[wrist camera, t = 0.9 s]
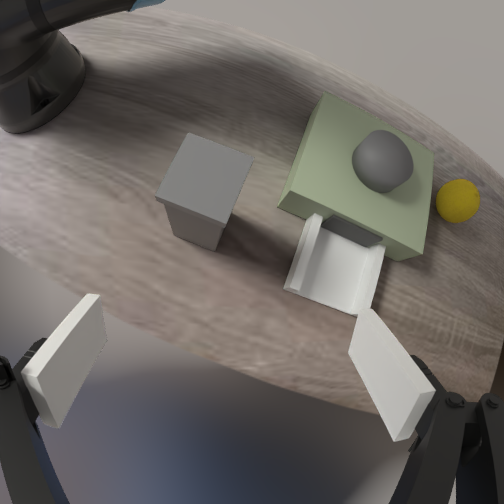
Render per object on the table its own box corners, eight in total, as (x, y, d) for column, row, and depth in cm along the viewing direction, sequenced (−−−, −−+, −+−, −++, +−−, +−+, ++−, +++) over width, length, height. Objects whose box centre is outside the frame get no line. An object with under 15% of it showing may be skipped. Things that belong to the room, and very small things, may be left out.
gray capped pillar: (215, 255, 31) (226, 223, 20) (170, 237, 31) (154, 195, 19) (234, 210, 32) (254, 157, 21) (190, 192, 32) (188, 132, 20)
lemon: (449, 196, 38) (486, 177, 31) (452, 232, 37) (492, 217, 30) (423, 186, 38) (460, 165, 30) (426, 225, 37) (466, 207, 29)
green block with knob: (380, 325, 33) (424, 327, 25) (251, 276, 31) (268, 265, 24) (412, 168, 38) (448, 143, 30) (311, 113, 36) (334, 75, 29)
